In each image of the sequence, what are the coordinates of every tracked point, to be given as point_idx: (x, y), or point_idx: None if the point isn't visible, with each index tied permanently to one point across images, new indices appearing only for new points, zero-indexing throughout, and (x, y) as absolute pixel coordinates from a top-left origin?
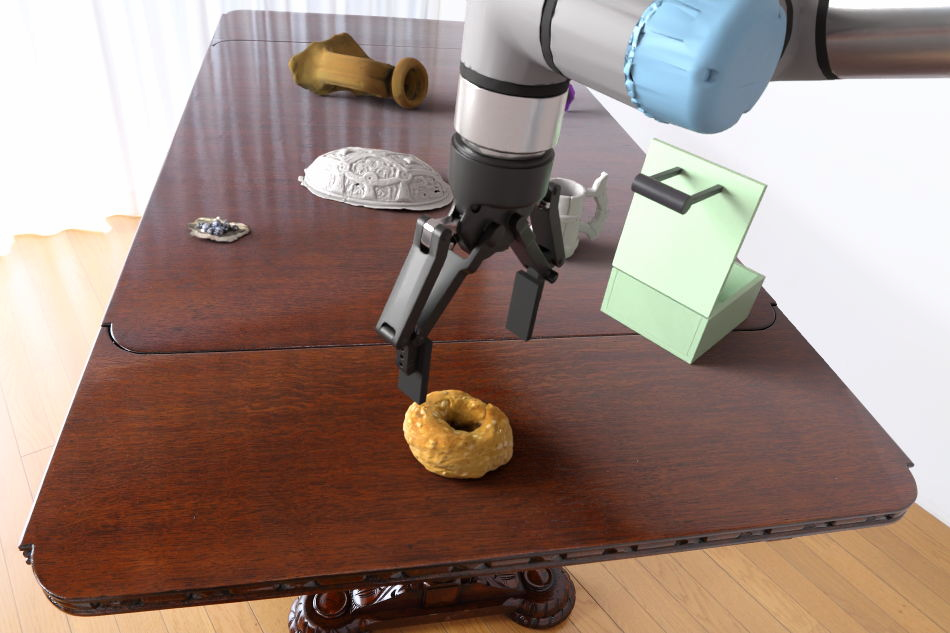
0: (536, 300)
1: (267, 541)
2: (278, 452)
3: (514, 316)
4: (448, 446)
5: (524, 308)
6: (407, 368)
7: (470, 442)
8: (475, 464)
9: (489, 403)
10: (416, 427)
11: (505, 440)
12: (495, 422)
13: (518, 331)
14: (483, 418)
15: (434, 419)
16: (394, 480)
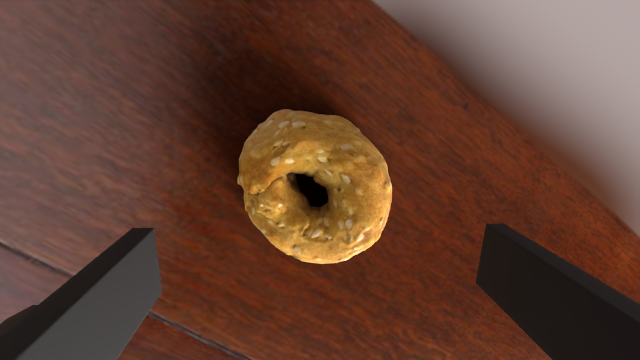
0: (48, 319)
1: (551, 210)
2: (467, 294)
3: (136, 306)
4: (377, 166)
5: (103, 313)
6: (638, 303)
7: (342, 152)
8: (347, 126)
9: (251, 193)
10: (382, 222)
11: (279, 128)
12: (274, 159)
13: (150, 262)
14: (280, 178)
15: (360, 216)
16: (409, 188)
